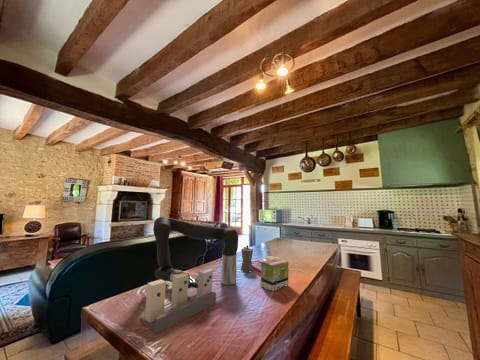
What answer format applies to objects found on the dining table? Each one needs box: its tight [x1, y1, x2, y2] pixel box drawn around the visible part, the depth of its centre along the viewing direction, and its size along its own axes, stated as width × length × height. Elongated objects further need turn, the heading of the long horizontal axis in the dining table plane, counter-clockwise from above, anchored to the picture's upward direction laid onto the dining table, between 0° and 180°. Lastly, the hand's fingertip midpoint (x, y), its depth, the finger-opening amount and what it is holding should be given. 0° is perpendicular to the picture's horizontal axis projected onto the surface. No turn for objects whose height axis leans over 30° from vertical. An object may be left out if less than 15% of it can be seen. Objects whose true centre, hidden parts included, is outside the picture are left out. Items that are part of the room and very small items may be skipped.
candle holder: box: [265, 255, 281, 261], centre depth 141 cm, size 10×10×12 cm
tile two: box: [170, 272, 190, 309], centre depth 93 cm, size 4×6×14 cm
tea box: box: [260, 258, 289, 292], centre depth 122 cm, size 15×10×15 cm
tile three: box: [196, 268, 213, 298], centre depth 100 cm, size 4×6×14 cm
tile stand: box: [139, 291, 217, 334], centre depth 91 cm, size 13×31×5 cm, turn 141°
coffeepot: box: [240, 245, 254, 273], centre depth 153 cm, size 15×9×18 cm, turn 13°
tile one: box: [144, 279, 167, 323], centre depth 84 cm, size 4×6×14 cm
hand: (199, 286), depth 102 cm, fingers closed
